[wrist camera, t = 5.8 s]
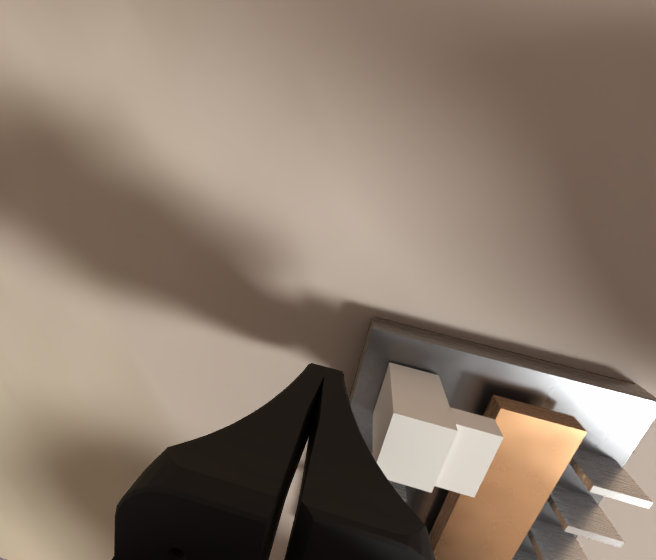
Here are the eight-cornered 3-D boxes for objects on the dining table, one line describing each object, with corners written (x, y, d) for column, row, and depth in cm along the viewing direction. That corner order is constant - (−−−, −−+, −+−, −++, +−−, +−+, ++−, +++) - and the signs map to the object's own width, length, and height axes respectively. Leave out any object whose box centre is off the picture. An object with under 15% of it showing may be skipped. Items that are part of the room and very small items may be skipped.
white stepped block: (477, 385, 12) (507, 444, 10) (454, 437, 13) (476, 506, 10) (389, 362, 13) (393, 412, 10) (372, 414, 13) (372, 475, 11)
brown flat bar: (576, 412, 12) (601, 440, 11) (477, 589, 15) (486, 627, 14) (482, 387, 12) (495, 411, 11) (404, 566, 16) (407, 601, 14)
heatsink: (638, 384, 13) (713, 441, 10) (513, 589, 17) (541, 671, 14) (372, 316, 14) (372, 350, 11) (313, 526, 17) (301, 592, 15)
